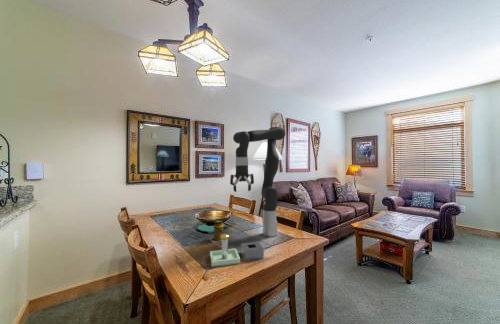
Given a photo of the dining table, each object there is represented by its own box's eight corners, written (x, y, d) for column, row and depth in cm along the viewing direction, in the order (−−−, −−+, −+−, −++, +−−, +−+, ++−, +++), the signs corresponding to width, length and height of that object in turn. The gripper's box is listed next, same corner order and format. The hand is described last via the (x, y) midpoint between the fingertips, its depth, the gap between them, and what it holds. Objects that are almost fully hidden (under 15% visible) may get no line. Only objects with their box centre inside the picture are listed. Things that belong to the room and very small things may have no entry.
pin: (228, 255, 110) (228, 233, 109) (229, 259, 105) (229, 236, 105) (219, 256, 108) (220, 234, 108) (220, 260, 104) (221, 237, 104)
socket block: (258, 250, 118) (258, 241, 118) (263, 258, 108) (263, 249, 108) (240, 252, 115) (240, 243, 115) (245, 260, 105) (245, 251, 105)
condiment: (225, 240, 133) (225, 221, 133) (213, 242, 128) (213, 223, 128) (220, 236, 139) (220, 218, 139) (208, 239, 134) (208, 220, 134)
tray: (235, 252, 114) (235, 248, 114) (240, 263, 103) (240, 258, 103) (210, 255, 111) (210, 251, 111) (211, 267, 99) (211, 262, 99)
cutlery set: (229, 227, 157) (229, 224, 157) (198, 241, 133) (198, 237, 133) (211, 223, 169) (211, 220, 169) (180, 234, 144) (180, 231, 144)
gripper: (251, 164, 130) (251, 189, 130) (229, 164, 126) (229, 191, 127) (254, 164, 123) (255, 191, 123) (231, 165, 119) (231, 193, 119)
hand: (242, 191), depth 125 cm, fingers open, 8 cm apart
